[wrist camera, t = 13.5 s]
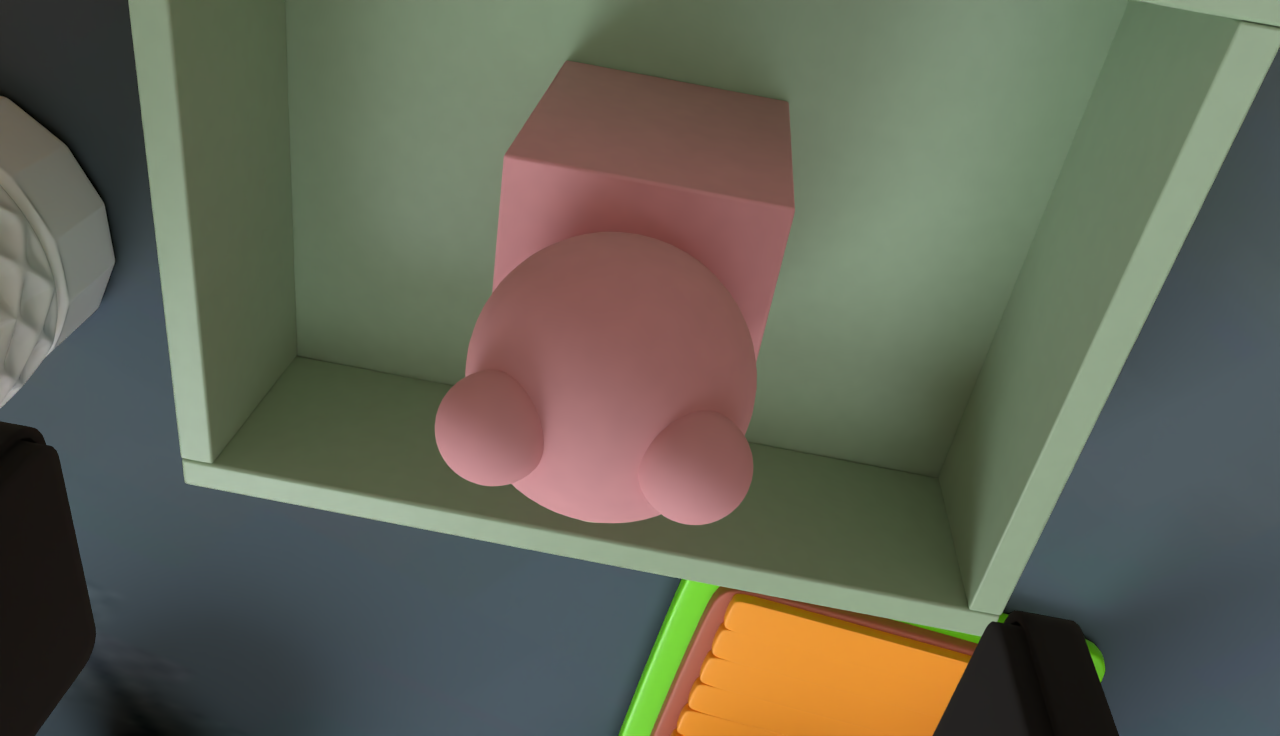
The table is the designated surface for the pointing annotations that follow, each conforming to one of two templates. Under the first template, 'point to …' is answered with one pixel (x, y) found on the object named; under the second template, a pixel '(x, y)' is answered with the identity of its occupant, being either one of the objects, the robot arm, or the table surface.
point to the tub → (807, 283)
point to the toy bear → (627, 300)
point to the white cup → (44, 246)
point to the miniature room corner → (794, 670)
